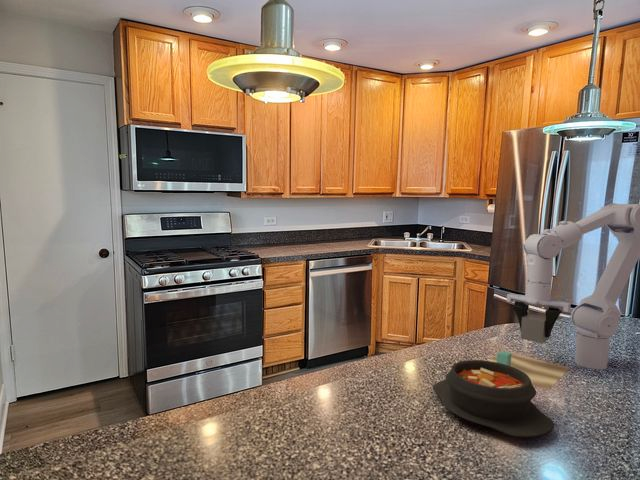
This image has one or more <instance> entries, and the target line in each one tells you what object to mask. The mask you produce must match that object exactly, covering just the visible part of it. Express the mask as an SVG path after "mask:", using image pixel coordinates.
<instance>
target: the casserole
mask: <svg viewBox="0 0 640 480" xmlns="http://www.w3.org/2000/svg"><path fill="white" fill-rule="evenodd" d="M432 390H433V391H434V392H435V393H436V394H437V396H438V397H439V398H440V400H441V402H442V405H443V406H444V407H445V408H446V409H447V410H448V411H450V412H451V413H453V414H454V415H456V416H458V417H459V418H461V419H464V420H466V421H469V422H471V423H473V424H477V425H479V426H483V427H487V428H491V429H494V430H496V431H498V432H500V433H503V434H504V435H505V434H506V435H508V436H511V437H515V438H535V437H541V436H545V435H546V434H549V433H551V432H552V431H553V430H554V429H555V423H554V421H553V419H552V418H549V416H547V415H546V414H545V413H543V412H541V411H540V409H538V407H537V406H536V405H535V404H534V403H533V402H532V400H533V399H534V398H535V397H536V395H537V390H536V387H535V385H532V383H531V379H530V378H529V376H528V375H526V374H525V373H524V372H522V371H520V370H518V369H516V368H514V367H511V366H508V365H505V364H501V363H497V362H491V361H488V360H482V359H481V360H480V359H478V360H477V359H474V360H473V359H470V360H462V361H458V362H456V363H454V364H453V365H452V366H451V367H450V371H448V372H447V373H446V375H445V379H443V380H441V381H438V382H436V383H434V384H433V386H432Z"/></svg>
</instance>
